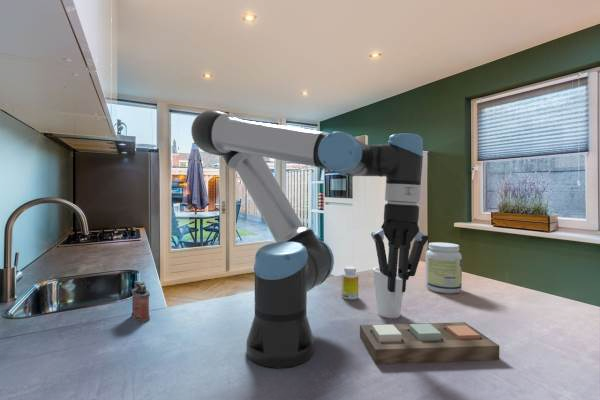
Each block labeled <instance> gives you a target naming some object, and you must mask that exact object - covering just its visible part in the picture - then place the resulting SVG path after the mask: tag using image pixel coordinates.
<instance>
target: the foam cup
mask: <svg viewBox="0 0 600 400" xmlns="http://www.w3.org/2000/svg"><path fill="white" fill-rule="evenodd" d="M397 276H398V277H399V275H398V267H397ZM372 279H373V282H374V283H373V284H374V291H375V292H374V293H375V303H376V310H377V314H378V315H379V316H380V317H383V318H387V319H397V318H399V317H400V316H401V310H402V303H403V297H404V292H402V298H401V308H394V307H393V306H392V305H391V304H390V293H391V292H390V291H388V289H387V284H388V276H385V275H384V274H382V273H381V272H380V268H379V266H374V267H372Z"/></svg>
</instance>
